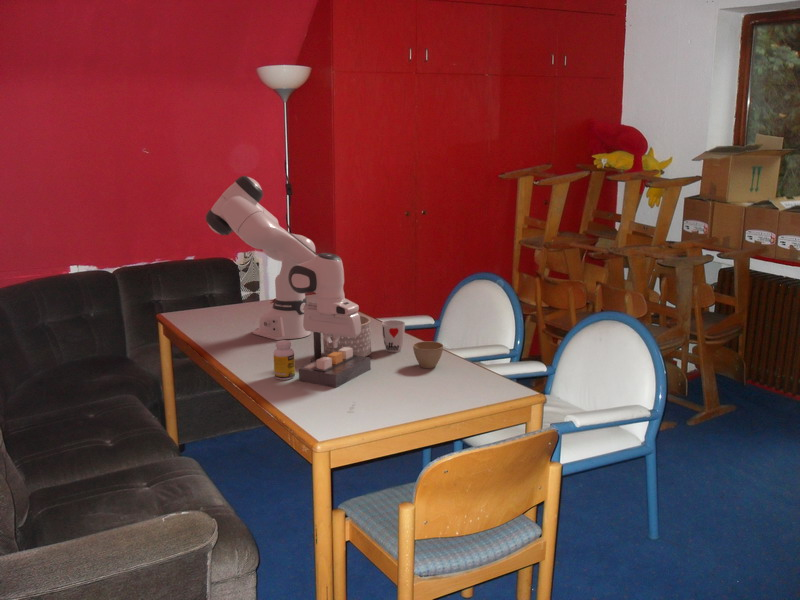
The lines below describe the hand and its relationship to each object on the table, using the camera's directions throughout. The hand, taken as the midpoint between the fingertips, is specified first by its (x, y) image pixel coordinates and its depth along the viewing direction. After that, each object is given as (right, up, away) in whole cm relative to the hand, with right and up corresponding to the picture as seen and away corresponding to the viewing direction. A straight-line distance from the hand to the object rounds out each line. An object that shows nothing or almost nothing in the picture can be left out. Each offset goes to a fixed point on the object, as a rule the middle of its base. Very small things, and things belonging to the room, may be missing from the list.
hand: (332, 347), depth 241 cm
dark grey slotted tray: (+1, -9, +2) cm, 9 cm away
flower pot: (+31, -7, +10) cm, 33 cm away
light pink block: (-2, -6, -4) cm, 8 cm away
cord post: (-6, -6, +15) cm, 17 cm away
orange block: (+1, -5, +1) cm, 5 cm away
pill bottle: (-15, -10, 0) cm, 18 cm away
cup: (+19, -3, +27) cm, 34 cm away
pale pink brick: (+4, -4, +6) cm, 8 cm away
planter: (+3, -5, +22) cm, 22 cm away
